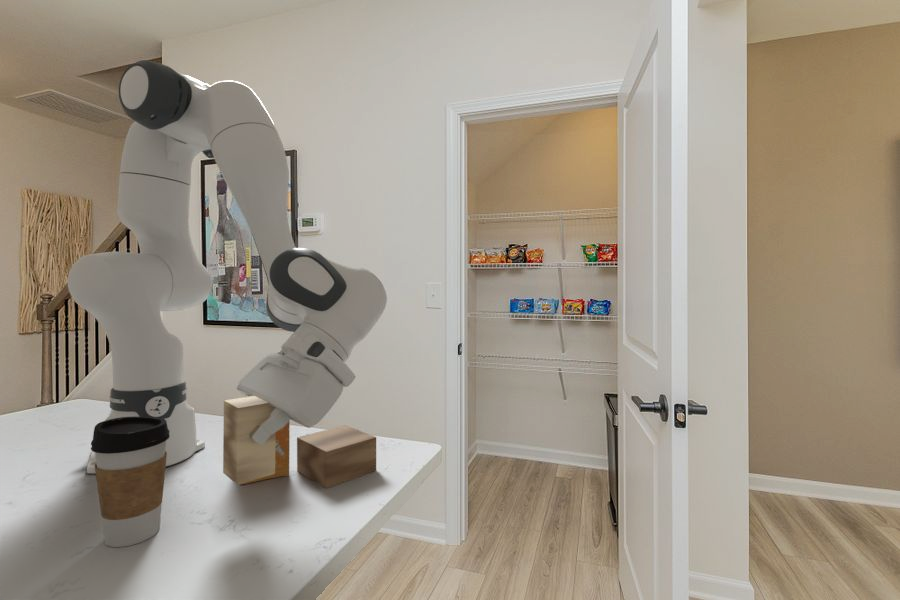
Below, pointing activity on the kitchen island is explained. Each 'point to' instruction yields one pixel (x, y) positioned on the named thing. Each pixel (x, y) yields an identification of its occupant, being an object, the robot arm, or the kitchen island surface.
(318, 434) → the walnut block
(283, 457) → the small box
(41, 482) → the kitchen island surface
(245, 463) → the oak block
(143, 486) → the coffee cup
